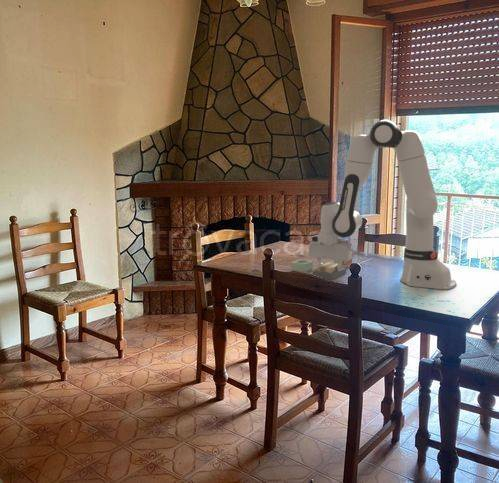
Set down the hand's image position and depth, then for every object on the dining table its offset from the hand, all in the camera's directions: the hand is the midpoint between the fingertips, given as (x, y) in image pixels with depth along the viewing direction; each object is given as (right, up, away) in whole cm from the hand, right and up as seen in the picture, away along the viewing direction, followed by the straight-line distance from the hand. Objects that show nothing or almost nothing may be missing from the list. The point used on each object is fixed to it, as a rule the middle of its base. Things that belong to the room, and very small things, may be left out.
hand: (329, 268), depth 234 cm
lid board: (0, -1, 0) cm, 0 cm away
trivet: (0, -3, +1) cm, 3 cm away
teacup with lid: (+10, 0, +17) cm, 20 cm away
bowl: (-12, -2, +8) cm, 14 cm away
